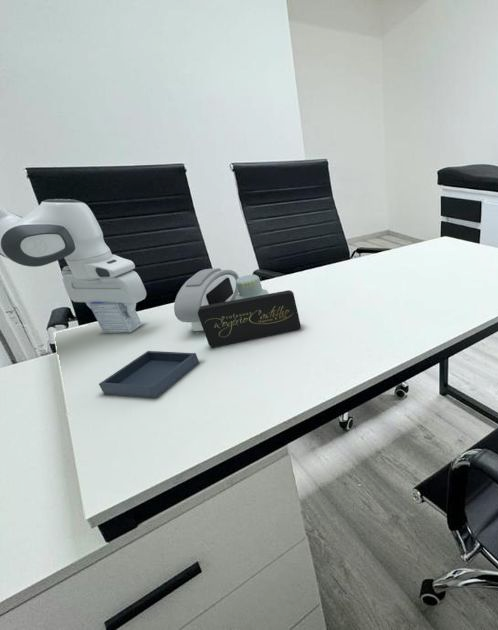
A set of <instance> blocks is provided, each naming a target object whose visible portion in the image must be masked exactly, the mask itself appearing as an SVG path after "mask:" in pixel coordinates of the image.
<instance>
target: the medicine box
mask: <svg viewBox="0 0 498 630" xmlns="http://www.w3.org/2000/svg"><path fill="white" fill-rule="evenodd" d="M89 305H90V307H91V309H90V310H91V311H92V313H93V315H94V317H95V319H96V320H97V323H98V326H99V327H100V329H101V331H102V332H103V334H113V333H114V334H115V333H133V331H135V330H137V329H138V328H140V327H142V325H143V323H142V321H141V319H140V317H139V315H138V313H137V310H136V309H135V311H136V313H137V316H135V317H134V318H128V317H127V316H126V314H125V312H126V311H127V306H125V305H124V303H101V302H92V303H90V304H89Z"/></svg>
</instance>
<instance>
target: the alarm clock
mask: <svg viewBox="0 0 498 630" xmlns="http://www.w3.org/2000/svg"><path fill="white" fill-rule="evenodd" d="M238 278H240V276H239V275H238V273H237V272H236V271H235V270H232V269H221V268H220V267H218V268H205V269H201V270H199V271H198V272H196V273H194V274H193V275H192V276H191V277H189V278H188V279H187V280H186V281H185V282H184V283H183V284H182V286H181V287H180V289H179V290H178V292H177V294H176V296H175V300H174V304H173V305H174V306H173V311H174V315H175V317H176V319H177V320H178V321H180V322H181V323H191V328H192V331H193V332H204V330H203V327H202V325H201V322H200V319H199V316H198V310H199V308H200V307H201V306H205V305H210V304H216V303H221V302H227V301H232V300H236V299H235V297H236V296H237V295H238V294H239V292H238V288H237V285H236V280H237V279H238Z"/></svg>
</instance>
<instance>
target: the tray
mask: <svg viewBox="0 0 498 630" xmlns="http://www.w3.org/2000/svg"><path fill="white" fill-rule="evenodd" d="M198 364H200V361H199V358H198V356H197V353H196V352H178V351H160V350H147V351H145V352H144V353H142V354H140V356H138V357H136V358H135V359H133V360H132V361H131V362H129V363H128V364H126V365H125V366H123V367H122V368H119V370H118V371H116V372H114V373H113V374H111V375H110V376H108V377H107V378H105V379H104V380H103V381H100V383H98V386H99V388H100V389H101V392H102V393H103V394H104V395H109V396H110V395H111V396H122V397H137V398H149V399H158V398H159V397H160V396H161V395H163V393H165V392H166V391H167V390H168V389H170V388H171V387H172V386H173V385H174V384H176V383H177V382H178V381H179V380H181V379H182V378H183V377H184V376H185V375H187V374H188V373H189V372H191V370H192V369H194V368H196V367H197V366H198Z"/></svg>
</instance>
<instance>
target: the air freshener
mask: <svg viewBox="0 0 498 630" xmlns="http://www.w3.org/2000/svg"><path fill="white" fill-rule="evenodd" d="M236 285H237V288H238V292H239V293H238V295H237V296H236V297H235V299H236V300H238V299H243V298H249V297H254V296H260V295H265V294H270V293H269V292H268V289H264V288H263V287H262V283H261V280H260V277H259V276H258V275H256V274H247V275H241V276H239V278H238V279H237V280H236Z"/></svg>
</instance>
